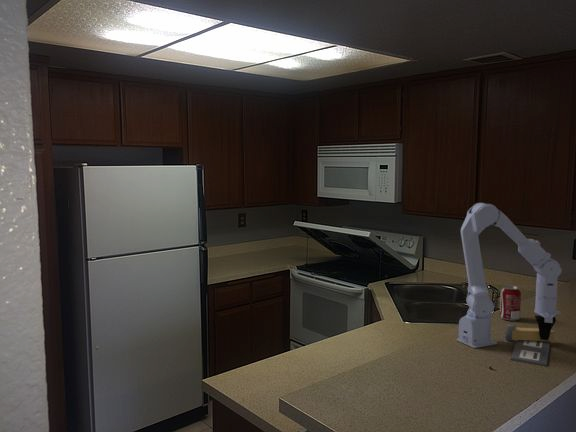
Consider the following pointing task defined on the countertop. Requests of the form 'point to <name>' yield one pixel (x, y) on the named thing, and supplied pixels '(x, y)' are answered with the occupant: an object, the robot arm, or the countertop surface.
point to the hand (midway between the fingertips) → (544, 339)
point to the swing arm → (525, 334)
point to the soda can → (510, 303)
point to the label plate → (530, 351)
